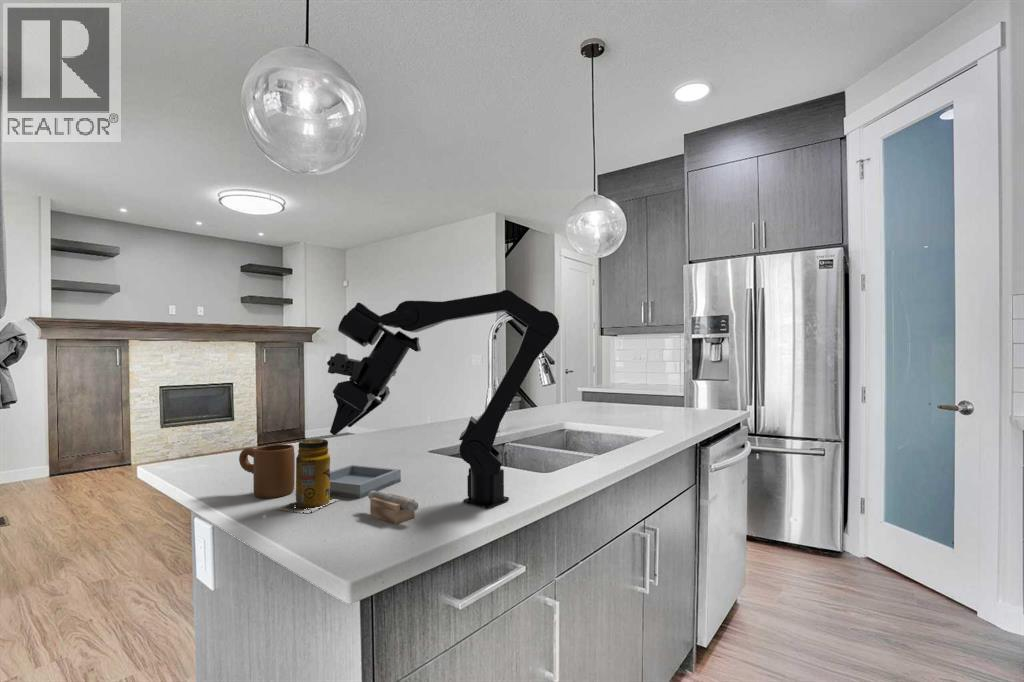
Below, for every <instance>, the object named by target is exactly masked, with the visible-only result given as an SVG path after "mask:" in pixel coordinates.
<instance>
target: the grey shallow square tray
mask: <svg viewBox="0 0 1024 682" xmlns="http://www.w3.org/2000/svg"><path fill="white" fill-rule="evenodd" d="M401 472H402V470H401V469H397V468H388V467H377V466H370V465H367V466H366V465H361V464H359V465H358V464H349V465H346V466H344V467H340V468H337V469H334V470H330V494H332V496H338V495H339V496H340V497H346V498H353V499H355V498H356V499H362V498H364V497H368V494H369V492H370V491H372V490H373V491H378V492H380V491H381V490H384V489H386V488H387V487H390V486H394V485H395V484H398V483H399V482H401V481H402V480H401V479H402V477H401V476H402V474H401Z"/></svg>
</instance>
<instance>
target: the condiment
mask: <svg viewBox="0 0 1024 682" xmlns="http://www.w3.org/2000/svg"><path fill="white" fill-rule="evenodd" d="M330 471H331V455H330V453H329V442H328V440H327V439H323V438H311V439H306V440H301V441H299V442H298V450H297V456H296V459H295V501H294V502H290V503H289V504H286V505H282V506H280V507H278V508H277V510H280V511H284V512H293V511H294V512H293V513H295V512H297V513H302V514H311V513H310V512H311V511H312V513H313V512H317V511H318V510H319V509H314V510H311V509H309V510H308V508H315V507H320V506H323V505H326V504H328V503H329V502H330V500H329V499H332V500H336V501H337V502H339V501H340V499H339V498H331V495H330ZM332 500H331V501H332ZM338 500H339V501H338ZM294 505H296V506H294ZM294 507H296V508H294ZM306 508H307V510H308V511H307V510H304V509H306ZM322 508H324V507H321V508H320V509H322ZM309 511H310V512H309ZM303 512H304V513H303Z"/></svg>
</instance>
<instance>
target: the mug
mask: <svg viewBox="0 0 1024 682" xmlns="http://www.w3.org/2000/svg"><path fill="white" fill-rule="evenodd" d="M295 454H296V453H295V446H294V445H292V444H270V445H263V446H259V447H256V448H254V447H246V448H244V449H242V451H241V452H240V454H239V455H238V456H239V457H238V460H239V465H240V467H241V468H242V470H244V471H245V472H248V473H251V474H253V476H252V477H253V478H252V479H253V495H254V496H255V497H256V498H258V497H259V498H258V499H275V497H276V498H280V497H284V496H289V495H290V494H292V493H293V492H294V490H295V478H296V459H295V457H296V456H295ZM248 456H250V457H251V458H253V463H251V462H250V460H249V457H248Z"/></svg>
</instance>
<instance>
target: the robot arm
mask: <svg viewBox="0 0 1024 682" xmlns="http://www.w3.org/2000/svg"><path fill="white" fill-rule="evenodd" d="M498 313H505V314H507V315H508V316H509V317H511V319H513V320H515V321H516V322H517V324H519V325H521V326H522V327H524V331H523V334H522V338H521V341H520V343H519V346H518V350H517V352H516V354H515V355H514V358H513V359H512V362H511V363H510V365H509V367H508V368H507V369H506V371H505V374H504V375H503V377H502V379H501V381H500V383H499V384H498V386H497V388H496V390H495V392H494V393H493V395H492V397H491V399H490V401H489V402H488V404H487V405H486V407H485V409H484V411H483V412H482V414H481V415H480V416H479V417H478V418H477V419H476V418H474V417H473V415H472V416H470V418H469V420H468V421H469V422H468V424H467V426H466V427H465V429H464V430H463V431H462V432H461V434H460V436H459V439H458V440H459V441H461V442H460V444H459V448H458V449H459V450H458V451H459V454H460V458H461V459H462V460H463V461H464V462H465V463H466V464H468V465H469V466H470V467H469V468H468V475H467V481H466V482H467V498H464V499H463V500H462V503H464V504H469V505H473V506H477V507H481V508H485V509H491V508H492V507H493V508H494V507H496V506H498V505H500V504H502V503H505V502H507V501H510V497H509V496H505V482H504V481H505V477H504V475H505V473H504V472H505V469H502V454H501V452H499V451H498V449H496V447H494V443H495V440H496V436H497V434H498V430H499V427H500V424H501V423H502V420H503V419H504V417H505V415H506V413H507V411H508V409H509V408H510V406H511V403H512V402H513V401H514V398H515V397H516V395H517V393H518V391H519V390H520V388H521V387H522V384H523V382H524V381H525V379H526V377H527V375H528V373H529V371H530V369H531V368H532V366H533V364H534V362H535V361H536V360H537V359H538V357H539V356H540V355H541V354H542V353H543V352H544V350H545V349H546V348H547V347H548V346H549V344H551V342H552V341H553V340H554V338H555V337H556V336H557V334H558V332H559V330H560V323H559V320H558V318H557V316H556V315H555V314H554V313H552V312H550V311H548V310H540V309H539V308H537V307H536V306H534V305H532V304H531V303H529V302H527V301H526V300H524V299H523V298H521V297H519V296H518V295H517V294H516V293H515V292H514V291H512V290H510V289H503V290H501V291H498V292H494V293H486V294H481V295H480V294H479V295H475V296H469V297H463V298H456V299H450V300H445V301H435V300H431V301H430V300H405V301H401V303H399V304H397V307H396V308H395V310H392V311H391V312H387V313H384V314H382V315H379V314H378V313H376V312H374V311H372V309H370V308H368V306H367V305H365V304H364V303H363V302H362V303H361V302H357V303H356V304H355V305H354V307H352V308H351V309H350V310H349V311H348V312H347V313H346V314H344V316H343V317H342V318H341V320H340V322H339V325H338V329H337V331H338V332H339V333H341V334H342V335H344V336H346V337H348V338H349V339H350V340H352V341H353V342H355V343H356V344H358V345H360V346H361V347H363V348H365V347H366V346H368V345H370V346H373V345H374V344H375V346H374V347H373V349H372V351H371V352H370V354H369V355H368V356H363V357H362V359H361V360H359V359H354V358H351V357H349V356H348V354H346V353H345V354H344V353H341V352H336V353H335V354H334V355H331V356H330V358H329V360H328V361H327V363H326V364H327V366H328V369H327V373H328V374H330V375H334V374H338V375H343V376H348V377H349V379H348V380H345V381H340V382H338V383H337V384H336V385H335V387H334V389H333V390H332V394H333V398H334V399H335V401H336V404H337V407H336V412H335V415H334V417H333V421H332V424H331V426H330V431H329V433H330V434H332V435H333V436H336V435H338V434H339V433H340V432H341V431H343V430H344V429H346V428H351V427H352V426H354V425H355V424H357V423H358V422H359V421H360V420H362V419H363V418H364V417H366V416H367V415H369V414H370V413H371V412H372V411H374V410H375V409H377V408H378V407H380V406H381V405H382V404H383V402H385V401H386V400H387V398H388V397H389V395H390V394H391V392H390V388H389V386H388V383H390V380H391V379H392V377H395V376H396V374H397V373H398V371H397V370H398V368H399V366H400V365H401V363H402V361H403V360H404V358H405V357H406V355H407V354H408V352H409V350H413V351H414V352H415V353H416V352H421V351H422V348H421V345H420V337H417V336H415V337H413V338H412V337H410V336H408V335H407V334H406V333H403V332H402V331H401V330H403V331H405V332H409V333H418V332H422V331H425V330H427V329H430V328H433V327H435V326H437V325H441V324H443V323H446V322H449V321H455V320H456V321H457V320H462V319H467V318H469V319H470V318H474V317H479V316H485V315H486V316H488V315H492V314H498ZM384 326H386V327H389V328H393V329H397V328H398V329H400V330H398V331H397V332H395V333H394V332H392V331H390V330H389V329H387V328H386V327H384ZM376 342H377V343H376ZM378 397H379V398H380V399H378ZM490 507H491V508H490Z"/></svg>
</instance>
